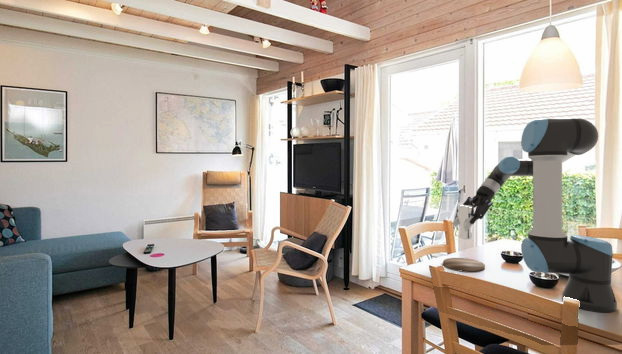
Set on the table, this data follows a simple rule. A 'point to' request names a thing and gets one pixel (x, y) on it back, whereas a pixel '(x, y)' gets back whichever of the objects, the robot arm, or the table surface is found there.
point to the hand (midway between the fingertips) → (459, 226)
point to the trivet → (464, 264)
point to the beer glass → (465, 220)
